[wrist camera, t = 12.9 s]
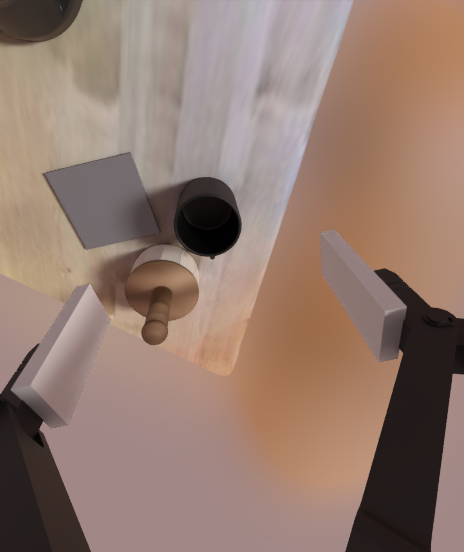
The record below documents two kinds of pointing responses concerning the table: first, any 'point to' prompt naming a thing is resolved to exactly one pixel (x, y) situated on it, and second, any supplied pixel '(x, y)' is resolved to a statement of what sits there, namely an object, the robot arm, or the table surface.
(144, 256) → the bowl
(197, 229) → the mug
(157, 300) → the lid
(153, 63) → the table surface
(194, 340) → the table surface
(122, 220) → the mat
